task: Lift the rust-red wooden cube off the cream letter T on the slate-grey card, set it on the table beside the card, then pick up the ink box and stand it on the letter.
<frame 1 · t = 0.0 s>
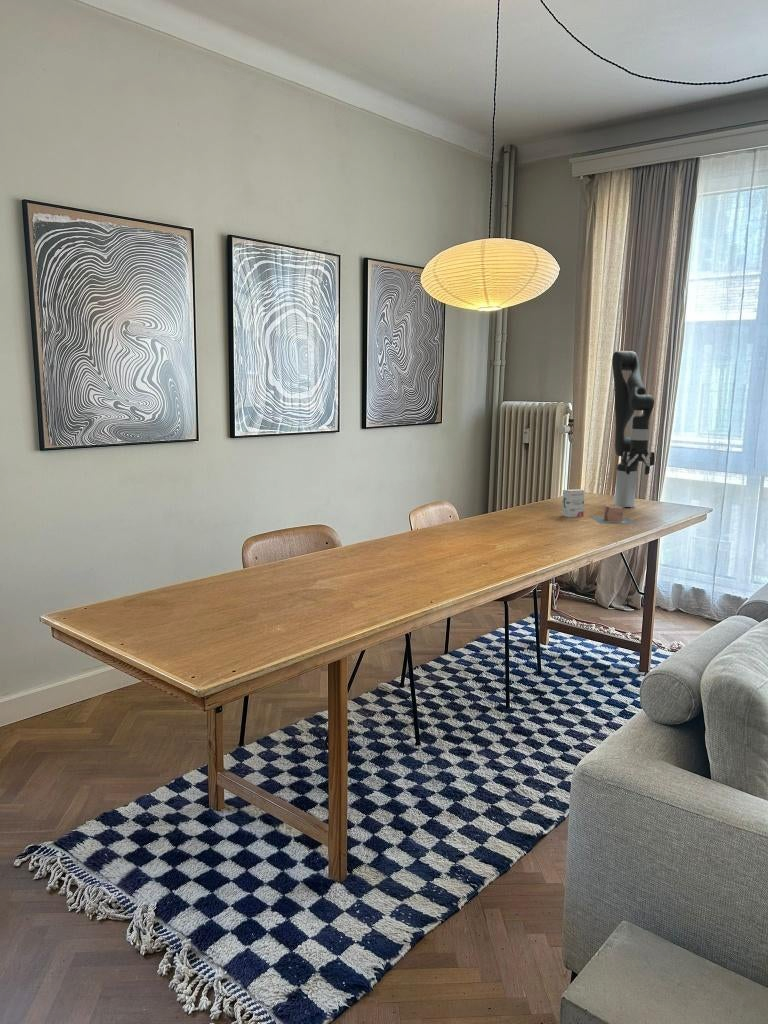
hand: (637, 474, 353), 17 cm above the table, tool pointing down, fingers open, 8 cm apart
painted cube: (613, 520, 331), resting on letter card
ink box: (572, 516, 341), on the table
letter card: (613, 521, 331), on the table
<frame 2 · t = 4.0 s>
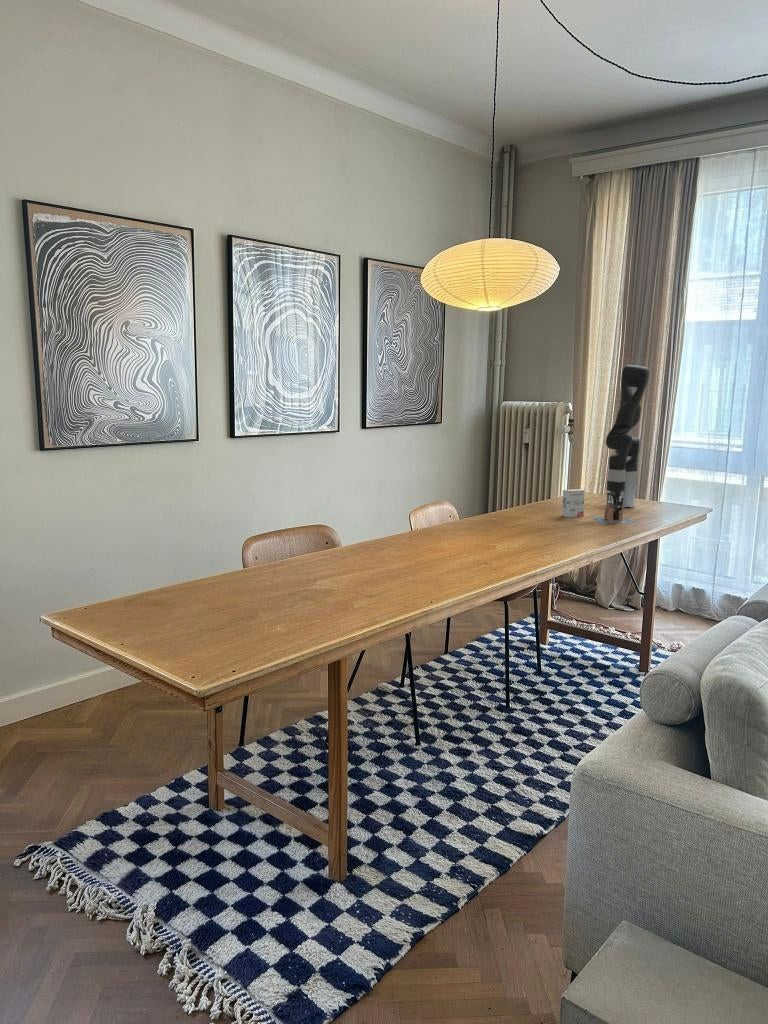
hand: (613, 518, 331), 1 cm above the table, tool pointing down, fingers closed on painted cube, 6 cm apart
painted cube: (613, 520, 331), resting on letter card, touching gripper
everything else where it was.
when the fingers open (3 cm above the table, at t = 9.5 s): painted cube drops 2 cm, on the table.
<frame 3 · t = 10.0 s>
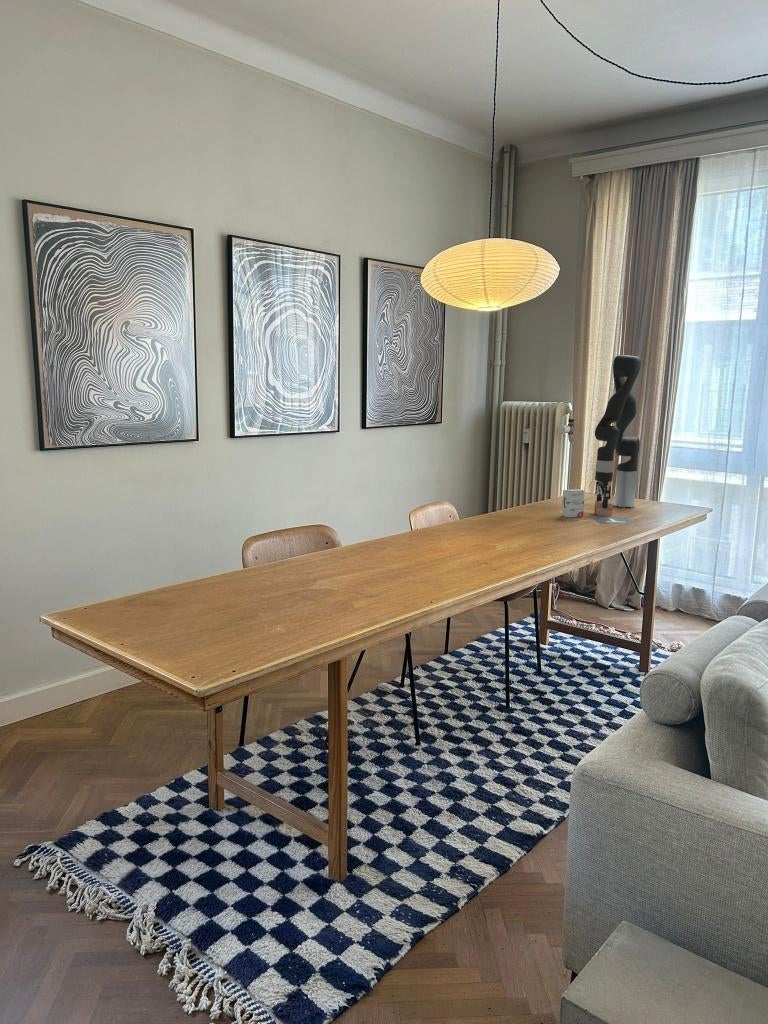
hand: (601, 506, 344), 4 cm above the table, tool pointing down, fingers open, 8 cm apart
painted cube: (602, 515, 345), on the table
everything else where it was.
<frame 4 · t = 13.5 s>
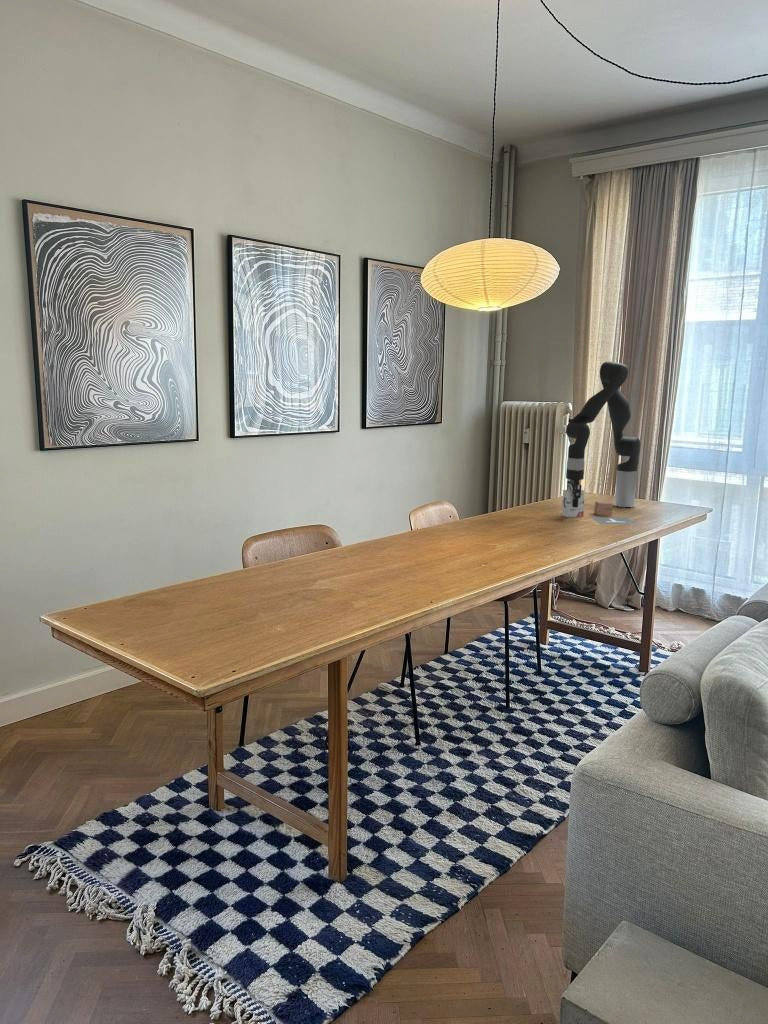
hand: (572, 505, 340), 5 cm above the table, tool pointing down, fingers closed on ink box, 6 cm apart
ink box: (572, 516, 341), on the table, touching gripper
everything else where it was.
when the fingers open (6 cm above the table, at t = 20.7 s): ink box drops 1 cm, resting on letter card.
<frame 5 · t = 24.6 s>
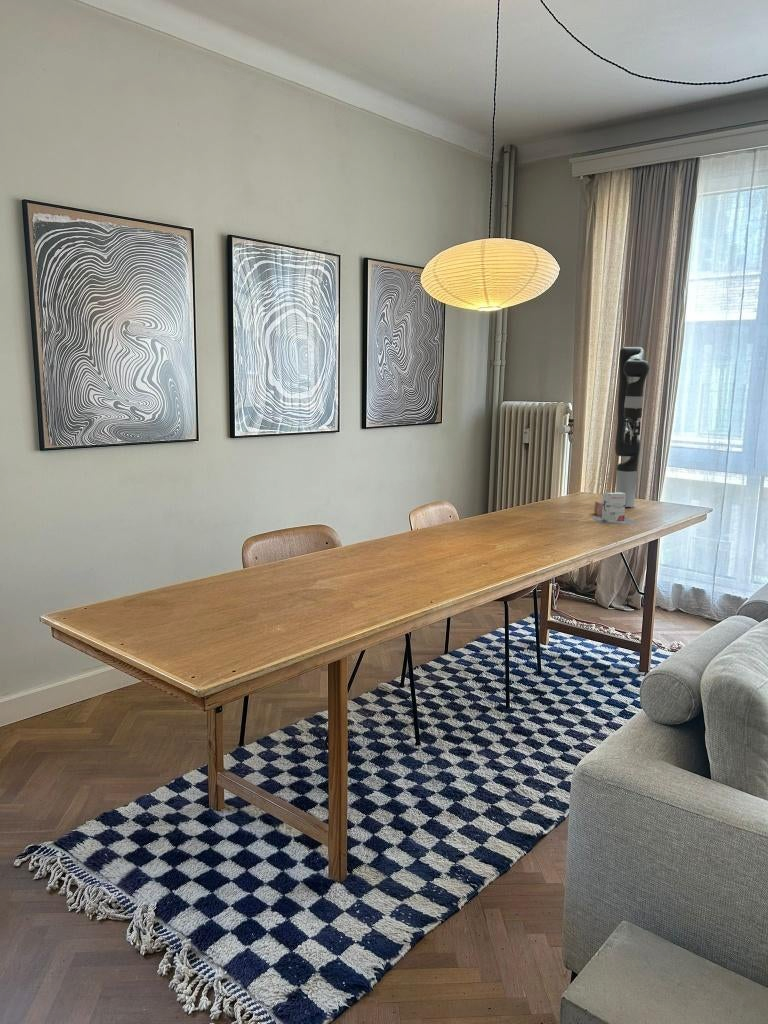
hand: (630, 443, 340), 32 cm above the table, tool pointing down, fingers open, 8 cm apart
ink box: (612, 520, 332), resting on letter card
everything else where it was.
at the end: ink box inside the target area on the letter card (0.2 cm from its centre), point 0.1 cm above the letter card's base; ink box tilted 0°; painted cube touching table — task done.
